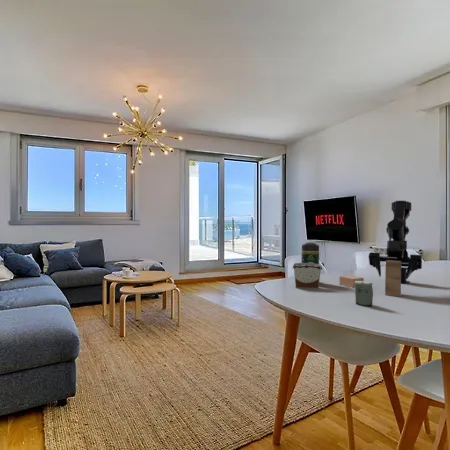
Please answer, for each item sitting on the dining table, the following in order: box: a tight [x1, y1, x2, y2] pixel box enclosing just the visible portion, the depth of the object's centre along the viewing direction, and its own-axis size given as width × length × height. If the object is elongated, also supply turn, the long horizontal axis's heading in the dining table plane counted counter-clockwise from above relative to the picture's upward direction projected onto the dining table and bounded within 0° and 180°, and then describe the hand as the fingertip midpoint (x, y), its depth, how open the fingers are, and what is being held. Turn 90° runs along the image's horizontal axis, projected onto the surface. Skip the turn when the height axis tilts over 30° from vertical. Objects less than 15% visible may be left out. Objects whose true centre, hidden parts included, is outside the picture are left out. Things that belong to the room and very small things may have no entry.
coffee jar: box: [300, 242, 320, 264], centre depth 152 cm, size 10×8×19 cm
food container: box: [291, 262, 323, 290], centre depth 142 cm, size 12×6×10 cm, turn 84°
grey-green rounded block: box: [354, 281, 374, 307], centre depth 111 cm, size 6×5×8 cm
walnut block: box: [384, 260, 402, 298], centre depth 128 cm, size 5×5×13 cm
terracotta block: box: [339, 275, 365, 289], centre depth 146 cm, size 7×7×4 cm
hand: (392, 277), depth 127 cm, fingers open, 9 cm apart
